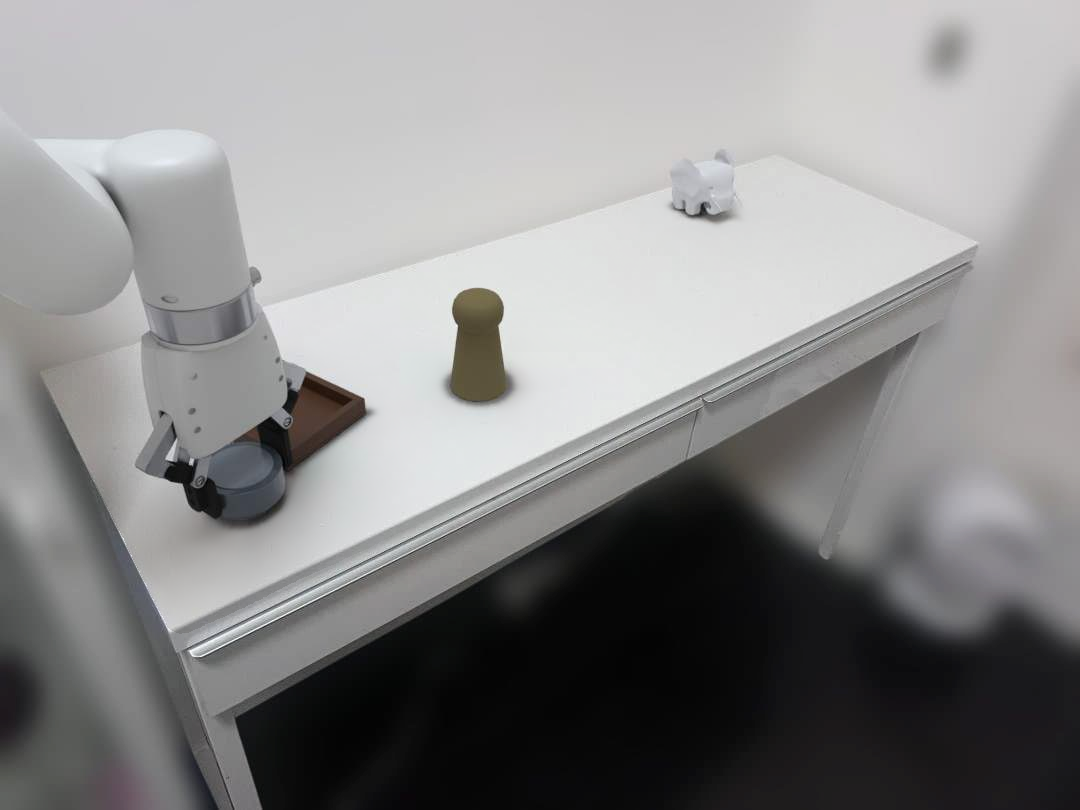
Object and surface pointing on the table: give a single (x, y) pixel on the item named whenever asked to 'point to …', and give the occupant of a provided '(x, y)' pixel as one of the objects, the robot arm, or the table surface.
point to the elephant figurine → (704, 184)
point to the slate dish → (247, 479)
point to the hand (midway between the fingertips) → (244, 483)
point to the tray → (316, 416)
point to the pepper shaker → (478, 346)
